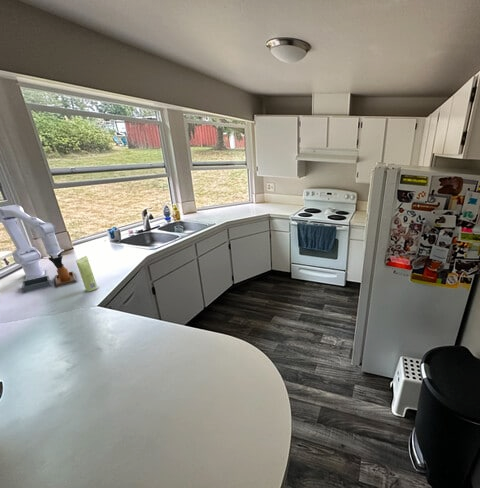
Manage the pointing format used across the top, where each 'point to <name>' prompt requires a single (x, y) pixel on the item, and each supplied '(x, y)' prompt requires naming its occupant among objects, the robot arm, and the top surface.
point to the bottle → (63, 273)
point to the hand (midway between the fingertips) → (59, 265)
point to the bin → (36, 283)
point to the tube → (86, 274)
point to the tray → (60, 283)
